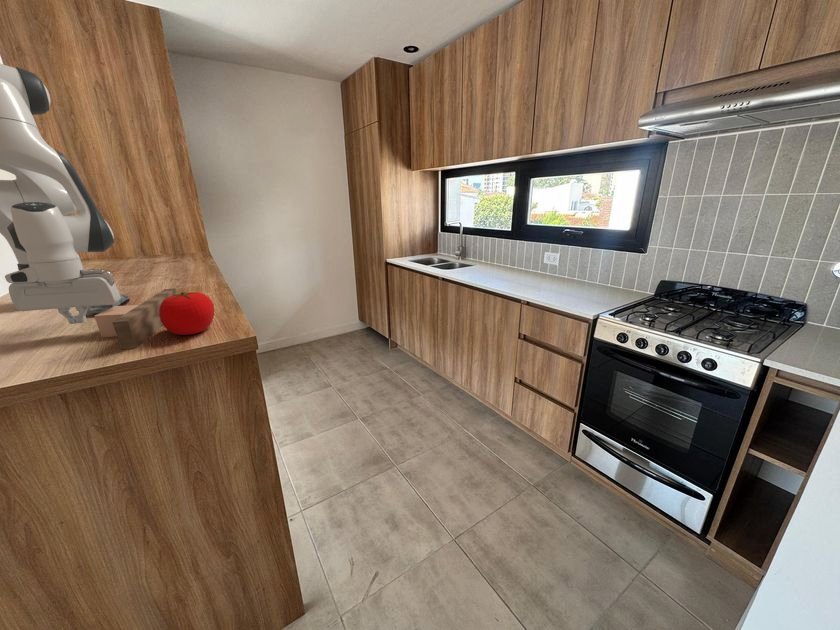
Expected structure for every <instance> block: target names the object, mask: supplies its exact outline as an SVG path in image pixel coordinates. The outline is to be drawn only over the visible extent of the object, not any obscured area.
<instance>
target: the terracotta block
mask: <svg viewBox="0 0 840 630" xmlns="http://www.w3.org/2000/svg"><path fill="white" fill-rule="evenodd" d="M139 305H140V304H134V305H128V304H127V305H125V306H114V307H112V308H110V309H108V310H106V311H104V312H101V313H99V314H94V319H95V321H96V322H95V323H96V326H97V328H98V331H99V333H100V336H101V338H107V337H117V335H116V332H115V329H114V326H113V323H112V322H113V321H115V320H116V319H118V318H120V317H121V316H123V315H124V314H126V313H127V312H129V311H131V310H132V309H134V308H135V307H137V306H139Z"/></svg>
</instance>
